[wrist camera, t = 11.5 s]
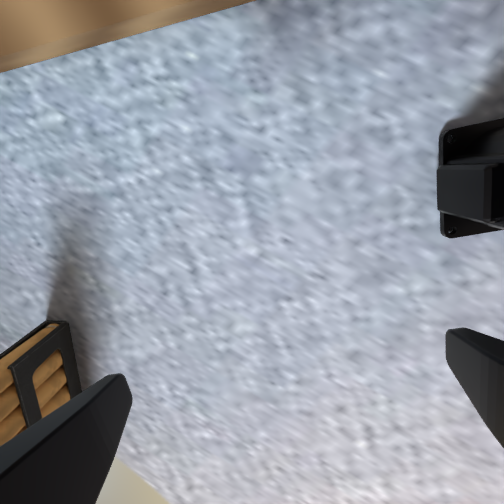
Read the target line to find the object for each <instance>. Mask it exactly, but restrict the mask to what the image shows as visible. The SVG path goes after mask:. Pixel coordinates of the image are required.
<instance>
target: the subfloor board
mask: <svg viewBox="0 0 504 504" xmlns="http://www.w3.org/2000/svg"><path fill="white" fill-rule="evenodd" d="M252 1H255V0H0V73H1V72H5V71H8V70H12V69H16V68H19V67H23V66H26V65H30V64H33V63H37V62H40V61H44V60H47V59H51V58H54V57H58V56H61V55H65V54H68V53H72V52H76V51H79V50H83V49H86V48H90V47H93V46H97V45H100V44H104V43H107V42H111V41H114V40H118V39H121V38H125V37H128V36H132V35H136V34H139V33H143V32H146V31H150V30H153V29H157V28H160V27H164V26H167V25H171V24H174V23H178V22H181V21H185V20H188V19H192V18H196V17H199V16H203V15H206V14H210V13H213V12H217V11H220V10H224V9H227V8H231V7H234V6H238V5H241V4H245V3H248V2H252Z"/></svg>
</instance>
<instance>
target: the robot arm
mask: <svg viewBox="0 0 504 504" xmlns="http://www.w3.org/2000/svg"><path fill="white" fill-rule="evenodd" d="M449 135H451V136H452V141H451V142H450V143H449V142H448V140H447V139H448V136H449ZM437 207H438V210H439V211H440V231H441V234H442V235H443V236H445V237H448V238H457V237H463V236H469V235H475V234H481V233H487V232H492V231H498V230H504V118H503V119H498V120H493V121H488V122H484V123H479V124H474V125H469V126H465V127H460V128H455V129H450V130H447V131H444V132H443V133H442V134H441V136H440V137H439V168H438V169H437ZM450 227H453V230H452V232H450V233H449V232H448V230H449V228H450ZM446 360H447V363H448V365H449V367H450V369H451V370H452V372H453V373H454V375H455V377H456V378H457V380H458V381H459V383H460V385H461V386H462V388H463V389H464V391H465V393H466V394H467V396H468V397H469V399H470V401H471V402H472V404H473V405H474V407H475V408H476V410H477V412H478V413H479V415H480V416H481V418H482V419H483V421H484V422H485V424H486V425H487V427H488V428H489V429H490V431H491V432H492V434H493V435H494V436H495V438H496V439H497V440H498V442H499V443H500V444H501V445H502V447H503V448H504V341H502V340H500V339H497V338H494V337H491V336H488V335H485V334H482V333H479V332H477V331H474V330H471V329H468V328H456V329H449V330H448V331H447V332H446ZM131 406H132V394H131V391H130V389H129V386H128V384H127V381H126V378H125V376H124V375H123V374H121V373H118V374H111V375H107V376H105V377H104V378H102V379H101V380H99V381H98V382H96V383H95V384H93V385H92V386H90V387H89V388H87V389H86V390H84V391H83V392H81V393H80V394H78V395H77V396H75V397H74V398H72V399H71V400H69V401H68V402H66V403H65V404H63V405H62V406H60V407H59V408H57V409H56V410H54V411H53V412H51V413H50V414H48V415H47V416H45V417H44V418H42V419H41V420H39V421H38V422H36V423H35V424H33V425H32V426H30V427H29V428H27V429H26V430H24V431H23V432H21V433H20V434H18V435H17V436H15V437H14V438H12V439H11V440H9V441H8V442H6V443H5V444H3V445H2V446H0V504H95V503H96V501H97V498H98V496H99V494H100V491H101V489H102V487H103V484H104V482H105V479H106V477H107V474H108V472H109V470H110V467H111V465H112V462H113V460H114V457H115V454H116V451H117V448H118V445H119V442H120V439H121V436H122V433H123V430H124V427H125V424H126V421H127V418H128V415H129V412H130V409H131Z"/></svg>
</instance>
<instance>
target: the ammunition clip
mask: <svg viewBox="0 0 504 504" xmlns="http://www.w3.org/2000/svg"><path fill="white" fill-rule="evenodd" d="M81 392H82V390H81V385H80V380H79V374H78V369H77V364H76V359H75V354H74V349H73V344H72V339H71V334H70V329H69V324H68V323H67V322H60V321H44V322H43V323H42V324H40V325H39V326H38V327H36V328H35V329H34V330H32V331H31V332H30V333H28V334H27V335H26V336H24V337H23V338H22V339H20V340H19V341H18V342H16V343H15V344H14V345H12V346H11V347H10V348H8V349H7V350H5V351H4V352H3V353H1V354H0V446H2V445H3V444H5V443H6V442H8V441H9V440H11V439H12V438H14V437H15V436H17V435H18V434H20V433H21V432H23V431H24V430H26V429H27V428H29V427H30V426H32V425H33V424H35V423H36V422H38V421H39V420H41V419H42V418H44V417H45V416H47V415H48V414H50V413H51V412H53V411H54V410H56V409H57V408H59V407H60V406H62V405H63V404H65V403H66V402H68V401H69V400H71V399H72V398H74V397H75V396H77V395H78V394H80V393H81Z"/></svg>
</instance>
